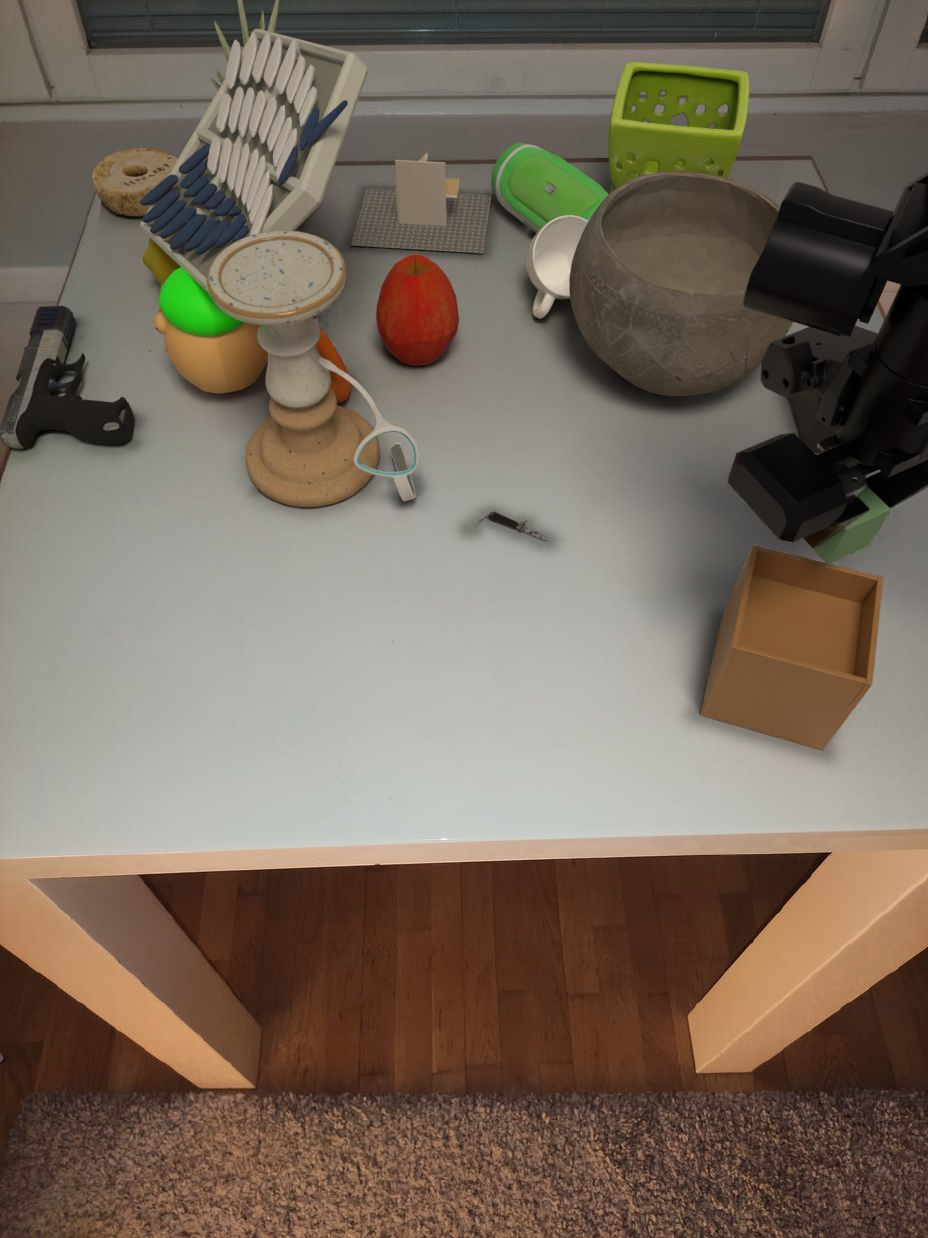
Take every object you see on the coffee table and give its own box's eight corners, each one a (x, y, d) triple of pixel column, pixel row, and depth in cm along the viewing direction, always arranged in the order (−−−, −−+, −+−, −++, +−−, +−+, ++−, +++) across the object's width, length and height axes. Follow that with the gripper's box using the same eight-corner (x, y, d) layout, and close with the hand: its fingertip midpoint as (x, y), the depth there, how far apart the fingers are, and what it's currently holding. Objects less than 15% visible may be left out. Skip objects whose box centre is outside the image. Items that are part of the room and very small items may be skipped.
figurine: (297, 366, 92) (276, 262, 82) (238, 426, 87) (209, 323, 77) (208, 330, 95) (177, 225, 85) (146, 386, 90) (106, 282, 80)
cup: (597, 248, 98) (619, 237, 92) (559, 336, 99) (578, 331, 93) (534, 214, 96) (552, 200, 90) (496, 304, 97) (511, 297, 91)
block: (834, 507, 65) (852, 471, 62) (870, 545, 63) (891, 509, 60) (791, 527, 64) (808, 490, 61) (827, 565, 62) (846, 530, 59)
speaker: (628, 195, 93) (577, 254, 94) (648, 235, 99) (600, 289, 101) (522, 122, 101) (476, 178, 102) (546, 163, 107) (503, 215, 109)
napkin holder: (401, 205, 107) (397, 143, 101) (460, 209, 107) (459, 146, 100) (397, 223, 105) (393, 160, 99) (457, 226, 105) (456, 163, 98)
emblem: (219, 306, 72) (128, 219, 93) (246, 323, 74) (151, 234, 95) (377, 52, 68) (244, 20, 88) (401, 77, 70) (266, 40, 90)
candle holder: (313, 393, 89) (278, 202, 73) (407, 452, 85) (392, 262, 68) (219, 465, 84) (157, 277, 67) (314, 531, 80) (273, 347, 63)
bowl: (813, 372, 91) (868, 236, 78) (663, 466, 84) (697, 334, 71) (666, 269, 100) (694, 133, 88) (519, 346, 93) (527, 210, 81)
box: (836, 650, 73) (883, 577, 65) (823, 750, 68) (872, 685, 60) (721, 619, 75) (752, 544, 67) (700, 715, 70) (731, 646, 62)
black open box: (873, 451, 85) (896, 408, 81) (804, 453, 85) (824, 409, 81) (849, 386, 90) (869, 341, 85) (784, 387, 90) (801, 343, 85)
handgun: (130, 449, 86) (1, 456, 85) (155, 318, 97) (41, 324, 96) (120, 425, 83) (-13, 432, 83) (147, 293, 94) (29, 299, 94)
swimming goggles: (310, 363, 72) (375, 338, 71) (320, 352, 80) (379, 330, 79) (377, 525, 77) (438, 502, 77) (380, 500, 85) (436, 480, 84)
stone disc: (204, 195, 109) (158, 166, 113) (196, 164, 106) (149, 135, 110) (129, 230, 104) (84, 198, 109) (118, 199, 101) (73, 168, 106)
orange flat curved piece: (333, 362, 93) (232, 255, 82) (347, 353, 93) (246, 244, 81) (346, 424, 87) (239, 318, 76) (361, 415, 87) (254, 307, 76)
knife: (537, 559, 79) (553, 534, 80) (537, 557, 78) (553, 531, 80) (471, 529, 80) (487, 505, 82) (471, 527, 80) (487, 502, 81)
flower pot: (725, 180, 110) (753, 69, 99) (716, 249, 102) (745, 136, 92) (610, 166, 111) (625, 55, 101) (592, 232, 104) (607, 120, 93)
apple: (474, 361, 92) (475, 268, 83) (402, 389, 90) (394, 297, 81) (436, 315, 96) (433, 222, 87) (365, 341, 94) (355, 248, 85)
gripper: (949, 228, 57) (859, 414, 70) (703, 319, 52) (655, 500, 65) (1093, 333, 51) (966, 514, 64) (832, 446, 46) (752, 616, 59)
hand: (833, 531), depth 63 cm, fingers closed on block, 4 cm apart
